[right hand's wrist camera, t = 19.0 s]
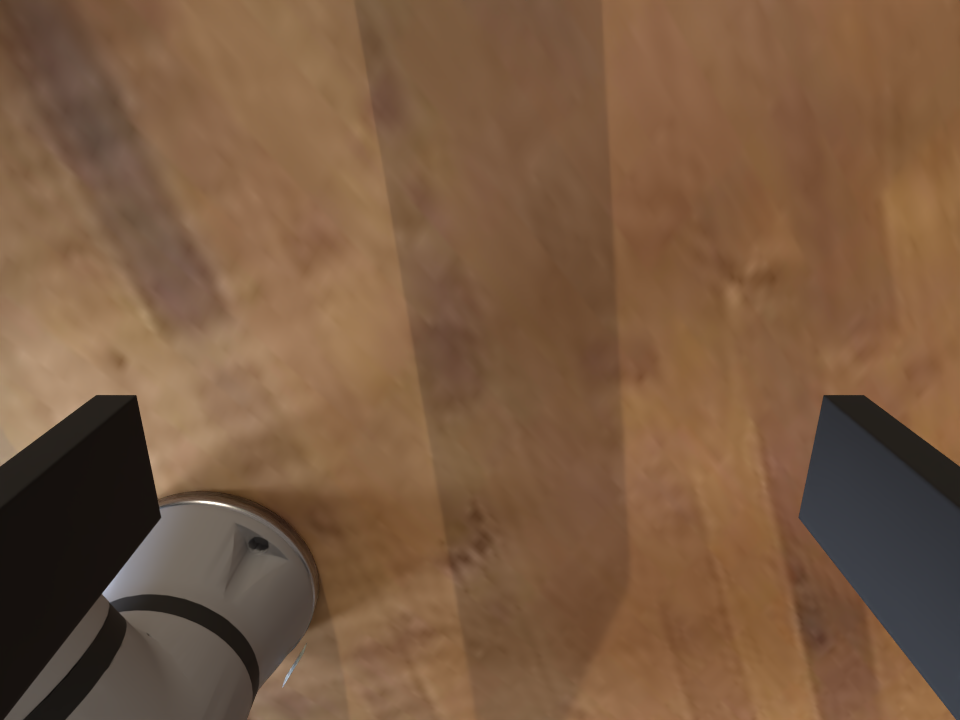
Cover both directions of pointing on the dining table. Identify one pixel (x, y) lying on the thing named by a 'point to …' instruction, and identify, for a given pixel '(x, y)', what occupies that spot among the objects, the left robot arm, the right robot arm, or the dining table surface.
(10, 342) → the dining table surface
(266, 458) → the dining table surface
